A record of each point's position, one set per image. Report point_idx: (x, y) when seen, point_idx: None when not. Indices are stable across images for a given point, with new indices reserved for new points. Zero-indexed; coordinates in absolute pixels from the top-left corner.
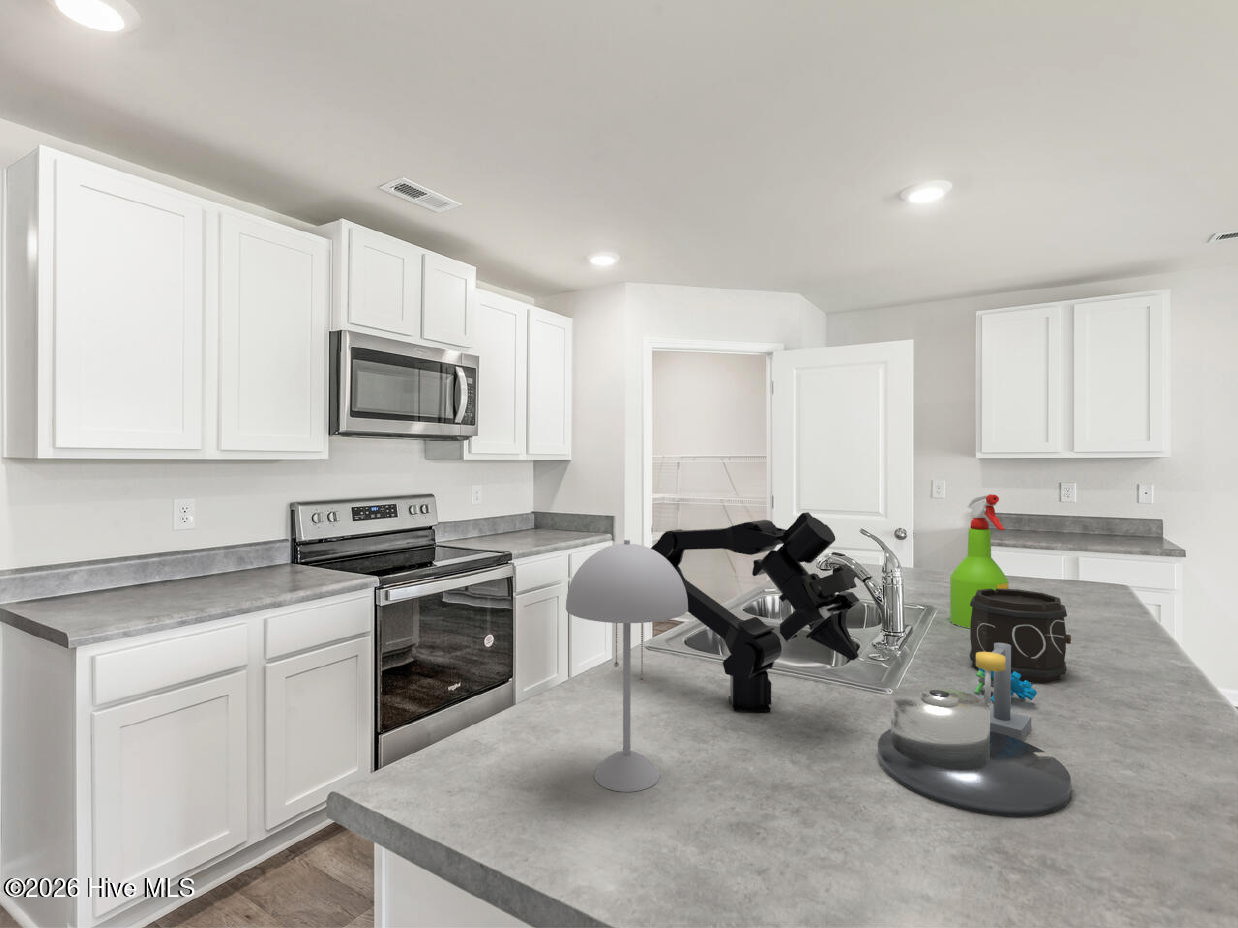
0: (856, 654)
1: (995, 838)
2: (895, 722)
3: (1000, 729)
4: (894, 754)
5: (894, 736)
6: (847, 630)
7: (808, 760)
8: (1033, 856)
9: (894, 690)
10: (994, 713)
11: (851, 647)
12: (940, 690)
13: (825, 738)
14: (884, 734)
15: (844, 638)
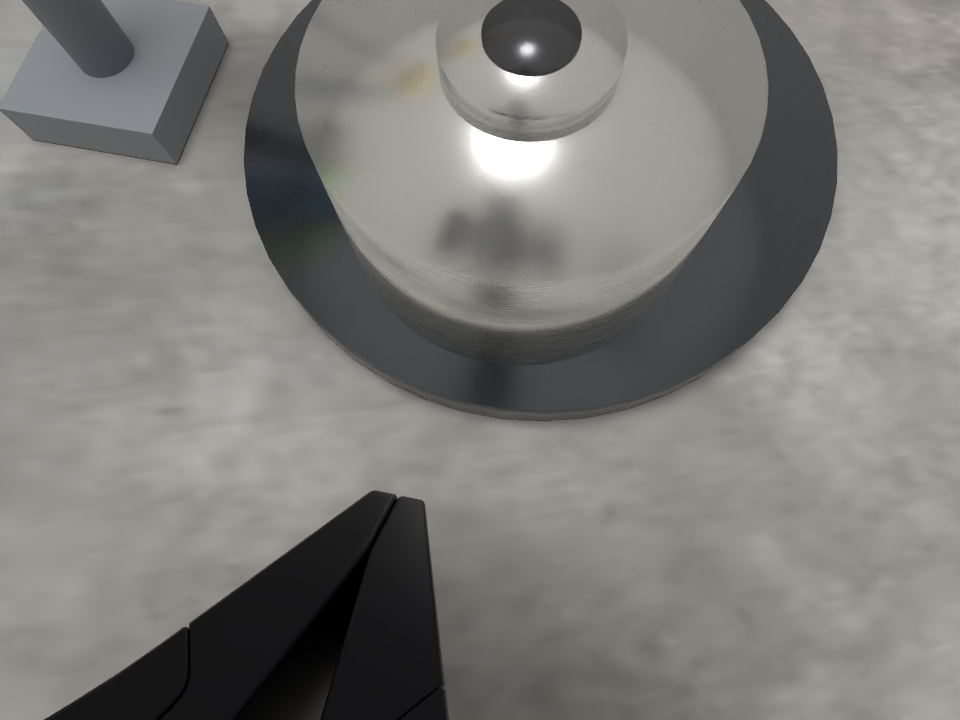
0: (401, 504)
1: (908, 81)
2: (645, 292)
3: (194, 69)
4: (675, 332)
5: (623, 324)
6: (110, 694)
7: (806, 668)
8: (929, 17)
9: (487, 272)
10: (105, 62)
11: (394, 560)
12: (483, 31)
13: (536, 657)
14: (495, 396)
15: (402, 672)
